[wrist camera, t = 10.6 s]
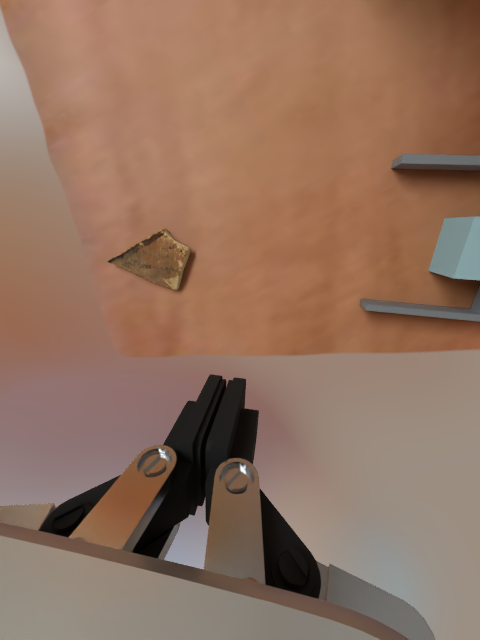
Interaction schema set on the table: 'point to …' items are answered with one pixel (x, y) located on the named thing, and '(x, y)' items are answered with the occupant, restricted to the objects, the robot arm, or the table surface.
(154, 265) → the shard
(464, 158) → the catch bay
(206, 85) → the table surface
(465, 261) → the teal block
